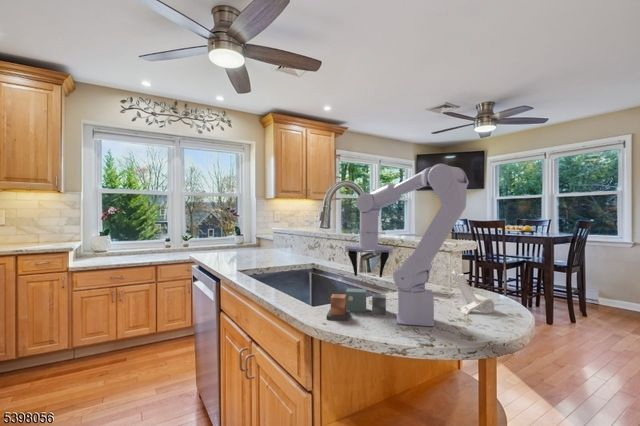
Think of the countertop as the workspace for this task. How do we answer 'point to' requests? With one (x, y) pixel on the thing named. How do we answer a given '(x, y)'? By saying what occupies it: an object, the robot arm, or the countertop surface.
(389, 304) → the countertop surface
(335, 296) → the terracotta block
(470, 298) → the plastic part
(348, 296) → the box
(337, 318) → the mat
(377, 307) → the slate block
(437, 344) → the countertop surface
